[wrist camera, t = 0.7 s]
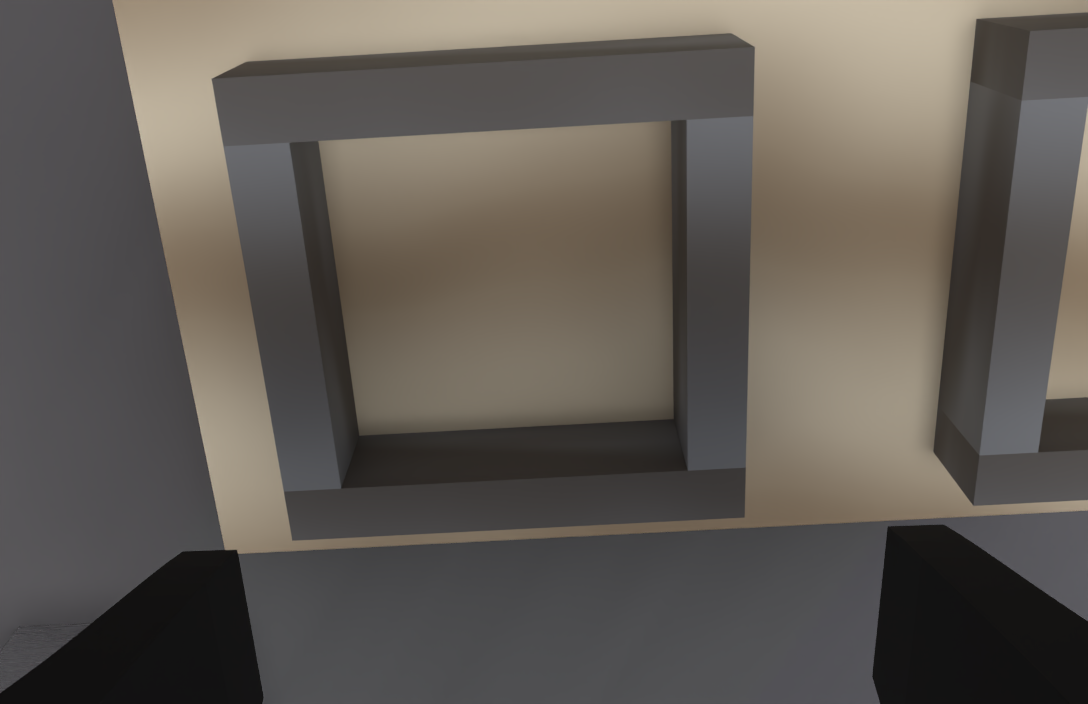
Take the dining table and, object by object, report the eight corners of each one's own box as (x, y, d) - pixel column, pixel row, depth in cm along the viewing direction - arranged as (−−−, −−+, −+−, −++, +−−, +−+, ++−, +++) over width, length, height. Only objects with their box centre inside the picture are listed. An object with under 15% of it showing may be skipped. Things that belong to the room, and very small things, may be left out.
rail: (1397, 468, 21) (1525, 549, 19) (239, 527, 22) (195, 616, 19) (1570, -118, 17) (1770, -125, 14) (129, -30, 18) (52, -21, 15)
